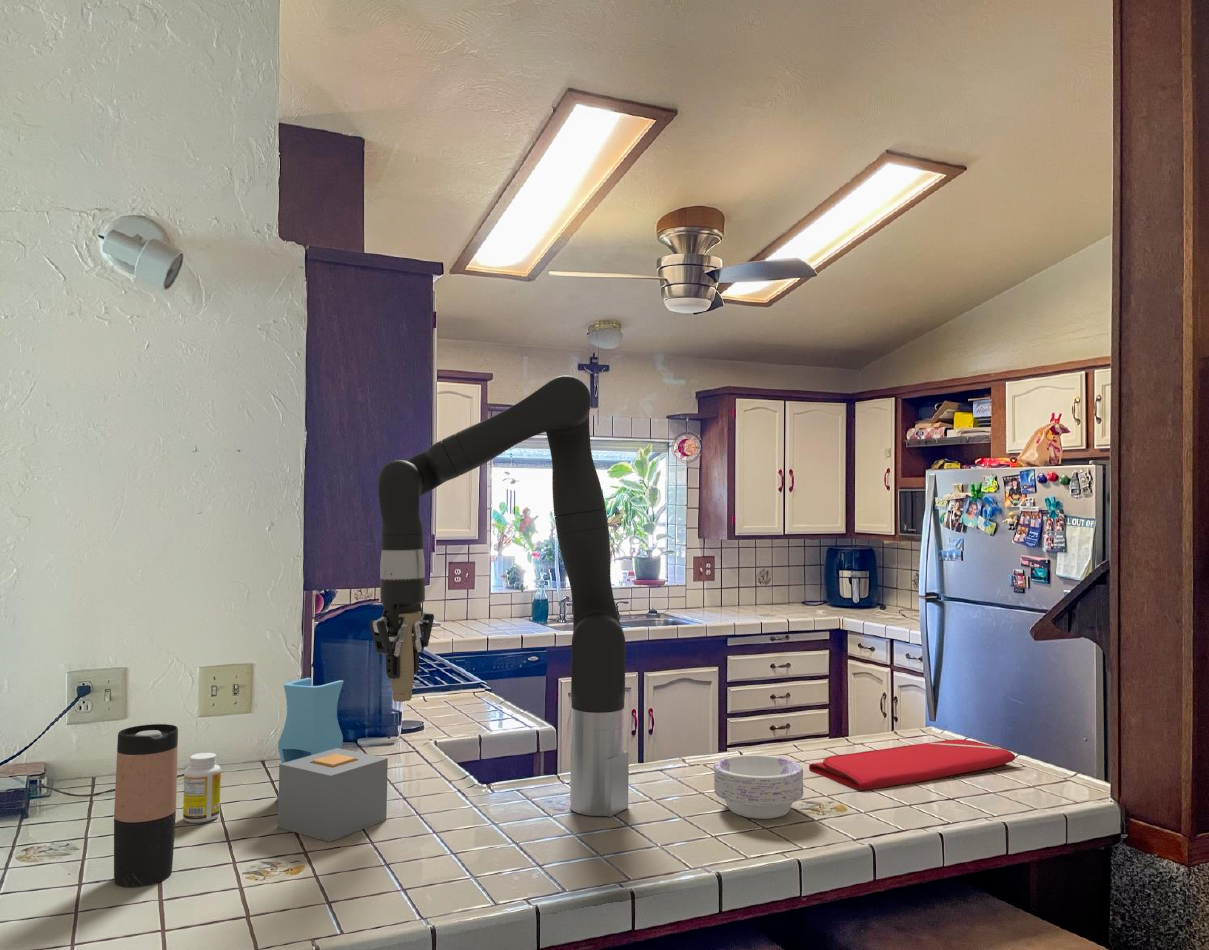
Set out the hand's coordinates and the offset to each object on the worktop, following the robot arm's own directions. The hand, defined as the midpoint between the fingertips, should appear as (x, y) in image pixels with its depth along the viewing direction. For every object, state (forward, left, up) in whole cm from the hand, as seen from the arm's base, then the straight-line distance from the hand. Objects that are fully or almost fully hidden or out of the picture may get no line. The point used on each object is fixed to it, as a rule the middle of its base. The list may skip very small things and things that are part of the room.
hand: (403, 675), depth 153 cm
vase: (+19, +3, -23) cm, 30 cm away
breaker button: (+4, +11, -16) cm, 20 cm away
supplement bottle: (+24, +21, -23) cm, 39 cm away
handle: (0, 0, -4) cm, 4 cm away
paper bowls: (-52, -33, -23) cm, 65 cm away
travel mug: (+9, +40, -23) cm, 47 cm away
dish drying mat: (-68, -75, -23) cm, 104 cm away
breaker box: (+4, +11, -23) cm, 26 cm away
